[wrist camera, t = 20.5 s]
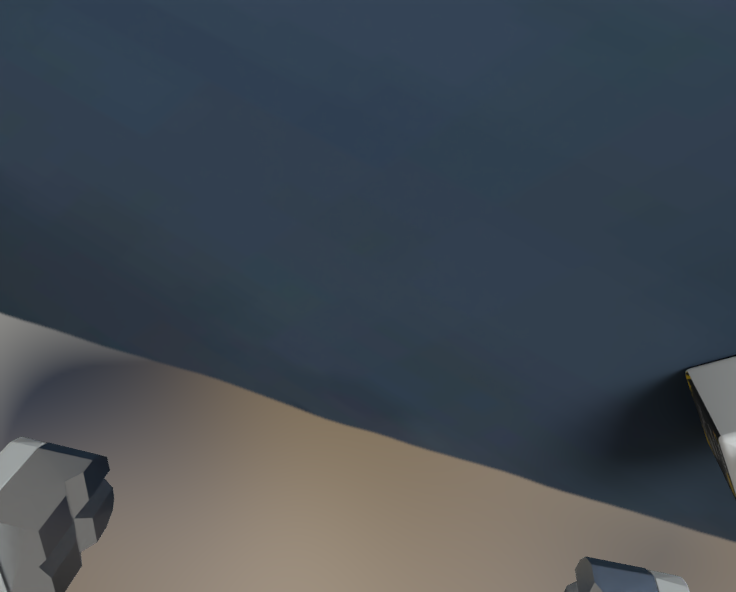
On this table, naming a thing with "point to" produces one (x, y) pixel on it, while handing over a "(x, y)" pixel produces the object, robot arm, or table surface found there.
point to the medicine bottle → (717, 410)
